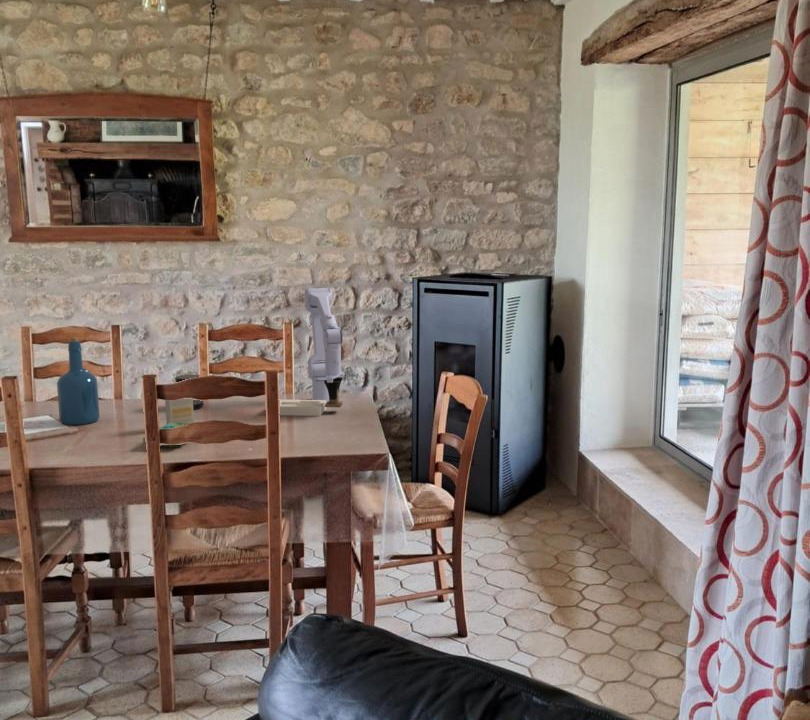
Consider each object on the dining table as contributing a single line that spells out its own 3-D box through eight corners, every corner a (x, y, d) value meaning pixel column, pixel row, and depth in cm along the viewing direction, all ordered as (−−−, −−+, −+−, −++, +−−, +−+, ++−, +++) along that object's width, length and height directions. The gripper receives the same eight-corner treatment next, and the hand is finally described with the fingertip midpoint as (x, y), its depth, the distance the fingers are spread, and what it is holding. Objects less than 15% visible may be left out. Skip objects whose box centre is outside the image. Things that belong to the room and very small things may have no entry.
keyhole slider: (327, 403, 302) (327, 387, 301) (342, 404, 301) (342, 388, 300) (325, 407, 296) (324, 391, 295) (340, 407, 296) (339, 391, 295)
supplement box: (189, 425, 281) (187, 387, 279) (194, 427, 278) (192, 390, 275) (166, 428, 277) (164, 390, 275) (170, 431, 273) (168, 393, 271)
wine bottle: (92, 426, 281) (85, 339, 276) (53, 426, 281) (46, 340, 276) (106, 416, 294) (100, 334, 290) (69, 417, 294) (63, 334, 289)
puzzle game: (204, 421, 268) (179, 436, 249) (204, 435, 269) (179, 451, 249) (170, 420, 270) (142, 435, 250) (171, 434, 271) (143, 450, 251)
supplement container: (178, 405, 313) (177, 374, 311) (206, 404, 314) (204, 373, 312) (172, 411, 303) (170, 379, 301) (201, 410, 303) (199, 379, 302)
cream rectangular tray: (274, 407, 307) (273, 399, 307) (326, 408, 306) (326, 400, 305) (265, 415, 296) (265, 406, 295) (320, 415, 294) (320, 407, 293)
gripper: (340, 365, 289) (341, 402, 291) (347, 358, 303) (347, 394, 305) (320, 365, 289) (321, 402, 292) (328, 358, 304) (329, 394, 306)
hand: (333, 398), depth 298 cm, fingers closed on keyhole slider, 3 cm apart
